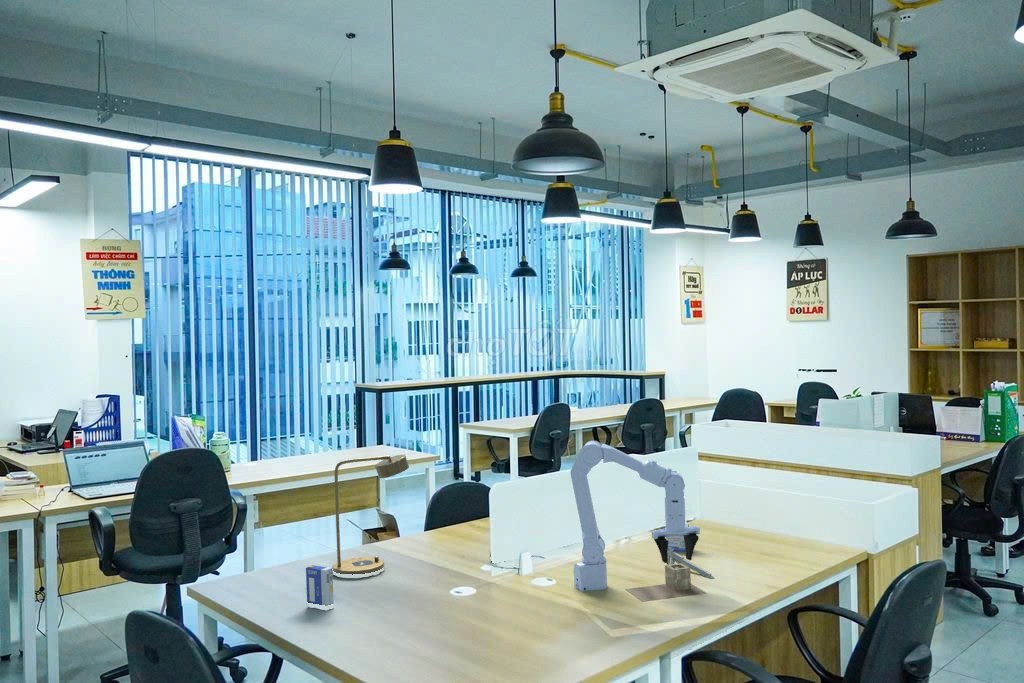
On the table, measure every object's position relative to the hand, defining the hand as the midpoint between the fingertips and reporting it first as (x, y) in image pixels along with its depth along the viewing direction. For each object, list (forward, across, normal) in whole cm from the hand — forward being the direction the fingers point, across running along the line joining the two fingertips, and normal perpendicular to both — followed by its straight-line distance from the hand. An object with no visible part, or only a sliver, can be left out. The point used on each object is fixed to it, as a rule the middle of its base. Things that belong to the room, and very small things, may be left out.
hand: (676, 560), depth 225 cm
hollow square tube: (+8, 0, 0) cm, 8 cm away
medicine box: (+9, +22, +43) cm, 49 cm away
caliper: (+10, +13, +18) cm, 24 cm away
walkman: (+10, -101, +25) cm, 104 cm away
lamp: (+10, -83, +60) cm, 103 cm away
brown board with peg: (+9, -5, -2) cm, 11 cm away
